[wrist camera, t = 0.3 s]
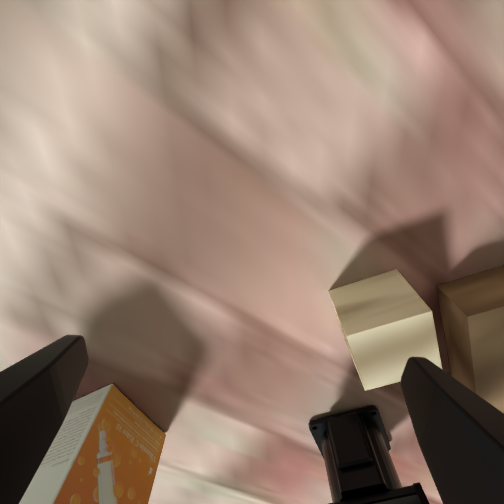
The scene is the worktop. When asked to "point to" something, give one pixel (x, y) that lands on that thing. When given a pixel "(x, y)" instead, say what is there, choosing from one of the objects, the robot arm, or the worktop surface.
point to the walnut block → (476, 332)
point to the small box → (99, 454)
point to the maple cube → (384, 327)
